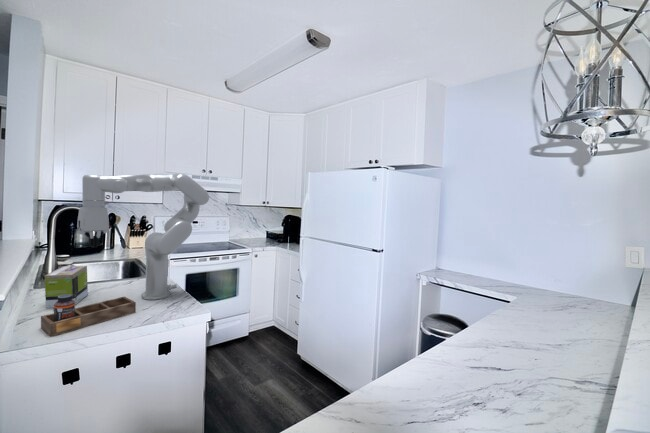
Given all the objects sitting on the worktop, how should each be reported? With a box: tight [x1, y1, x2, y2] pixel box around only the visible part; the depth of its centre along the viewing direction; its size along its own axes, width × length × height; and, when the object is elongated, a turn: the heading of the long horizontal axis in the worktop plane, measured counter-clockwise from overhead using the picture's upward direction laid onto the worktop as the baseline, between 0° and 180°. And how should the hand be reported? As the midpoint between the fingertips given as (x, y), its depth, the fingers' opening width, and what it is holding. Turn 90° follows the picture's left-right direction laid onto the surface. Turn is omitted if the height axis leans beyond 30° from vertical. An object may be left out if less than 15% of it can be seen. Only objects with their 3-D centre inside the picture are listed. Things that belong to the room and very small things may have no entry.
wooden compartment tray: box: [40, 296, 137, 337], centre depth 120 cm, size 28×10×5 cm, turn 148°
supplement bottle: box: [53, 294, 76, 322], centre depth 113 cm, size 6×6×11 cm
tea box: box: [44, 265, 89, 309], centre depth 135 cm, size 15×10×15 cm
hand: (93, 247), depth 129 cm, fingers closed
